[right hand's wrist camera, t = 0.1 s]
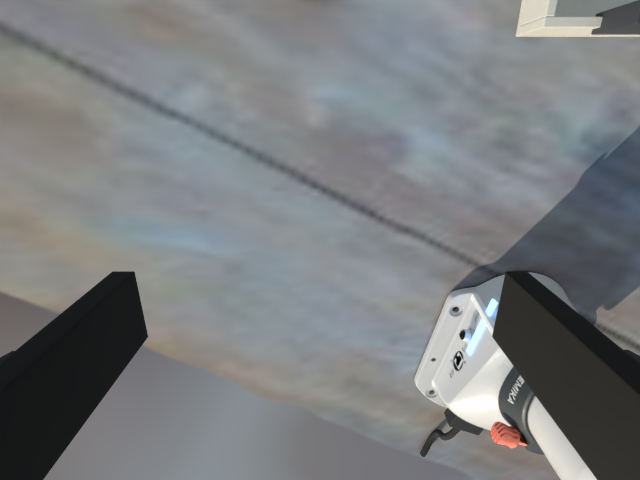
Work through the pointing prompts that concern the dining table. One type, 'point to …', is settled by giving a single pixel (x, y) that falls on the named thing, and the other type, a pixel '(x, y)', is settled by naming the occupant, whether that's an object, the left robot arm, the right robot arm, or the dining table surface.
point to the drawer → (579, 18)
